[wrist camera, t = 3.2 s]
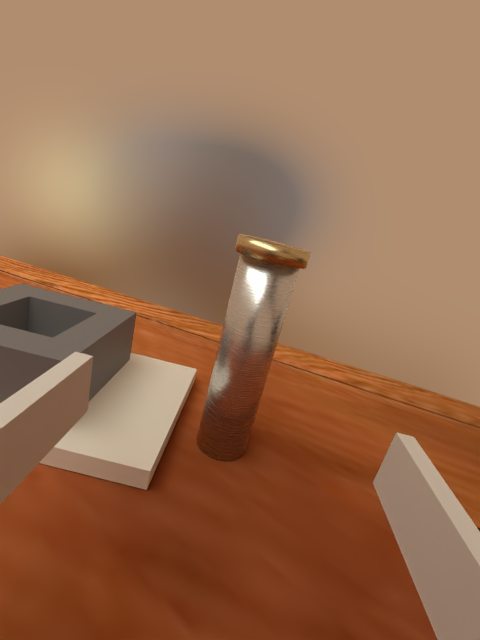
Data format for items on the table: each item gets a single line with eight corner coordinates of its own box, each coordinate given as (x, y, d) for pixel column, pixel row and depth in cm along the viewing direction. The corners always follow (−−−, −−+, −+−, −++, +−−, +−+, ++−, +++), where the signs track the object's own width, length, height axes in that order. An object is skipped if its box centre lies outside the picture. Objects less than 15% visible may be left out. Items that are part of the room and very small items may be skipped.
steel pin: (251, 430, 28) (305, 249, 23) (249, 471, 23) (316, 256, 18) (198, 417, 28) (241, 232, 23) (185, 455, 23) (235, 235, 18)
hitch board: (194, 381, 33) (206, 324, 31) (146, 490, 20) (163, 401, 18) (26, 339, 33) (28, 279, 31) (-134, 419, 20) (-149, 323, 18)
